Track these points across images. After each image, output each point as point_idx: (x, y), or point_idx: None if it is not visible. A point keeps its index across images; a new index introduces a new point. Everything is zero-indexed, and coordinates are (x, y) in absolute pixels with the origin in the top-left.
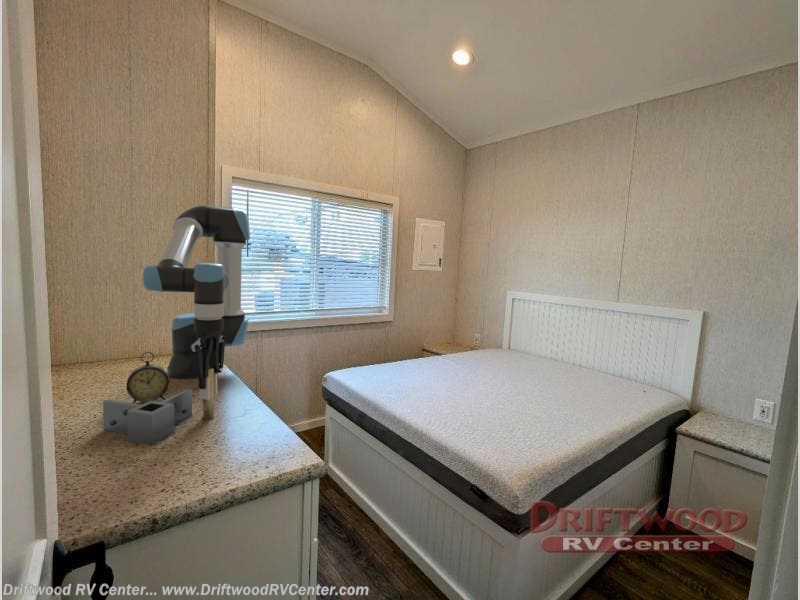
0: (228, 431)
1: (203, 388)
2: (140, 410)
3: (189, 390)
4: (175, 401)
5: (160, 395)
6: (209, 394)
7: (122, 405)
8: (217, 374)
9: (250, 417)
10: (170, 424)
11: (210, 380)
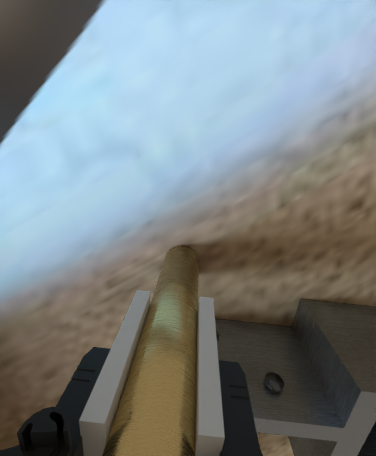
0: (277, 132)
1: (240, 368)
2: None
3: None
4: (268, 398)
5: None
6: (199, 312)
7: None
8: (61, 407)
9: (137, 107)
10: (333, 324)
11: (179, 393)
